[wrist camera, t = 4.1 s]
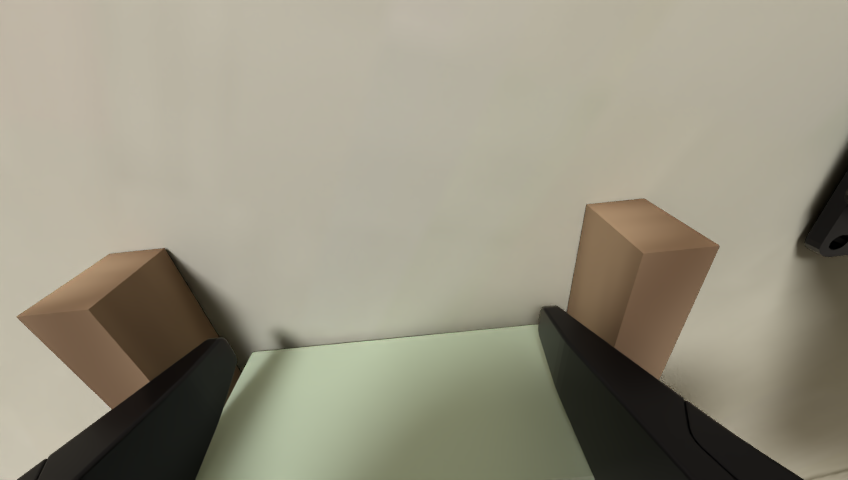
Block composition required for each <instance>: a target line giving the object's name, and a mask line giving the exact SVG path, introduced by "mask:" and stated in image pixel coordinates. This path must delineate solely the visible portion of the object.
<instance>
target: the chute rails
mask: <svg viewBox="0 0 848 480" xmlns="http://www.w3.org/2000/svg"><path fill="white" fill-rule="evenodd" d="M719 247H720V246H719V245H718V244H716V243H714V242H713V241H711V240H710V239H708V238H706V237H705V236H703V235H702V234H700V233H698V232H697V231H695V230H694V229H692V228H690V227H689V226H687V225H686V224H684V223H683V222H681V221H679V220H678V219H676V218H675V217H673V216H671V215H670V214H668V213H667V212H665V211H663V210H662V209H660V208H659V207H657V206H655V205H654V204H652V203H651V202H649V201H647V200H646V199H635V200H625V201H616V202H606V203H596V204H587V205H586V211H585V216H584V222H583V227H582V233H581V238H580V243H579V249H578V254H577V260H576V265H575V271H574V276H573V281H572V287H571V292H570V298H569V303H568V309H567V313H568V314H569V315H571V316H572V317H573V318H575V319H576V320H577V321H579V322H580V323H581V324H583V325H584V326H586V327H587V328H588V329H590V330H591V331H592V332H594V333H595V334H597V335H598V336H599V337H601V338H602V339H603V340H605V341H606V342H608V343H609V344H610V345H612V346H613V347H614V348H616V349H617V350H618V351H620V352H621V353H623V354H624V355H625V356H627V357H628V358H629V359H631V360H632V361H634V362H635V363H636V364H638V365H639V366H640V367H642V368H643V369H644V370H646V371H647V372H649V373H650V374H651V375H653V376H654V377H655V378H657V379H658V380H659V379H660V377H661V374H662V372H663V370H664V368H665V366H666V363H667V361H668V359H669V357H670V355H671V352H672V350H673V348H674V346H675V344H676V341H677V339H678V337H679V335H680V333H681V330H682V328H683V326H684V324H685V322H686V319H687V317H688V315H689V313H690V311H691V308H692V306H693V304H694V302H695V300H696V297H697V295H698V293H699V291H700V288H701V286H702V284H703V282H704V280H705V277H706V275H707V273H708V271H709V269H710V266H711V264H712V262H713V260H714V258H715V255H716V253H717V251H718V249H719ZM17 318H18V319H19V320H20V321H21V322H22V323H23V324H24V325H25V326H26V327H27V328H28V329H29V330H30V331H31V332H32V333H33V334H35V335H36V336H37V337H38V338H39V339H40V340H41V341H42V342H43V343H44V344H45V345H46V346H47V347H48V348H49V349H50V350H51V351H52V352H53V353H54V354H55V355H56V356H57V357H58V358H59V359H60V360H61V361H63V362H64V363H65V364H66V365H67V366H68V367H69V368H70V369H71V370H72V371H73V372H74V373H75V374H76V375H77V376H78V377H79V378H80V379H81V380H82V381H83V382H84V383H85V384H86V385H87V386H88V387H89V388H90V389H92V390H93V391H94V392H95V393H96V394H97V395H98V396H99V397H100V398H101V399H102V400H103V401H104V402H105V403H106V404H107V405H108V406H109V407H110V408H111V409H113V408H115V407H116V406H117V405H119V404H120V403H121V402H123V401H124V400H125V399H127V398H128V397H130V396H131V395H132V394H134V393H135V392H136V391H138V390H139V389H140V388H142V387H143V386H144V385H146V384H147V383H148V382H150V381H151V380H153V379H154V378H155V377H157V376H158V375H159V374H161V373H162V372H163V371H165V370H166V369H167V368H169V367H170V366H171V365H173V364H174V363H176V362H177V361H178V360H180V359H181V358H182V357H184V356H185V355H186V354H188V353H189V352H190V351H192V350H193V349H194V348H196V347H197V346H199V345H200V344H201V343H203V342H204V341H205V340H207V339H210V338H219V336H218V335H217V333H216V331H215V330H214V328H213V326H212V325H211V323H210V322H209V320H208V318H207V317H206V315H205V313H204V312H203V310H202V309H201V307H200V305H199V304H198V302H197V300H196V299H195V297H194V295H193V294H192V292H191V291H190V289H189V287H188V286H187V284H186V282H185V281H184V279H183V278H182V276H181V274H180V273H179V271H178V269H177V268H176V266H175V264H174V263H173V261H172V260H171V258H170V256H169V255H168V253H167V251H166V250H165V248H162V249H152V250H143V251H133V252H123V253H114V254H109V255H107V256H106V257H104V258H103V259H101V260H100V261H98V262H97V263H95V264H94V265H92V266H91V267H89V268H88V269H86V270H85V271H83V272H82V273H81V274H79V275H78V276H76V277H75V278H73V279H72V280H70V281H69V282H67V283H66V284H64V285H63V286H61V287H60V288H58V289H57V290H55V291H54V292H52V293H51V294H49V295H48V296H46V297H45V298H43V299H42V300H41V301H39V302H38V303H36V304H35V305H33V306H32V307H30V308H29V309H27V310H26V311H24V312H23V313H21V314H20V315H18V316H17ZM240 375H241V372H240V370H239V369H238V367H237V366H236V368H235V371H234V375H233V378H232V381H231V385H230V388H229V391H228V395H227V398H226V401H225V404H226V402H227V400H228V398H229V397H230V395H231V393H232V391H233V389H234V387H235V385H236V383H237V381H238V379H239V377H240ZM224 406H225V405H224Z"/></svg>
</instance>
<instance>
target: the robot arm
mask: <svg viewBox="0 0 848 480" xmlns="http://www.w3.org/2000/svg"><path fill="white" fill-rule="evenodd" d="M805 247H807V248H808V249H810V250H812V251H814V252H816V253H818V254H820V255H822V256H825V257H832V256H842V255H848V170H847V172H846V173H845V175H844V177H843V178H842V180H841V182H840V183H839V185H838V187H837V188H836V190H835V191H834V193H833V195H832V196H831V198H830V200H829V201H828V203H827V205H826V206H825V208H824V210H823V211H822V213H821V214H820V216H819V218H818V219H817V221H816V223H815V224H814V226H813V228H812V229H811V231H810V232H809V234H808V236H807V237H806V240H805ZM538 333H539V337H540V340H541V344H542V347H543V350H544V353H545V357H546V360H547V363H548V366H549V369H550V373H551V376H552V379H553V382H554V385H555V388H556V391H557V393H558V396H559V398H560V400H561V403H562V405H563V407H564V409H565V412H566V414H567V416H568V419H569V421H570V423H571V426H572V428H573V430H574V433H575V435H576V437H577V439H578V442H579V444H580V446H581V449H582V451H583V453H584V456H585V458H586V460H587V463H588V465H589V467H590V469H591V472H592V474H593V476H594V479H595V480H804V479H802V478H801V477H799V476H798V475H796V474H794V473H793V472H791V471H790V470H788V469H787V468H785V467H784V466H782V465H780V464H779V463H777V462H776V461H774V460H773V459H771V458H769V457H768V456H766V455H765V454H763V453H762V452H760V451H759V450H757V449H756V448H754V447H753V446H751V445H750V444H748V443H747V442H745V441H744V440H742V439H741V438H739V437H738V436H736V435H735V434H733V433H732V432H730V431H729V430H728V429H726V428H725V427H723V426H722V425H721V424H719V423H718V422H716V421H715V420H713V419H712V418H711V417H709V416H708V415H706V414H705V413H704V412H702V411H701V410H699V409H698V408H697V407H695V406H694V405H693V404H691V403H690V402H688V401H684V398H683V397H681V396H680V395H679V394H677V393H676V392H675V391H673V390H672V389H671V388H669V387H668V386H666V385H665V384H664V383H662V382H661V381H660V380H658V379H657V378H655V377H654V376H653V375H651V374H650V373H649V372H647V371H646V370H644V369H643V368H642V367H640V366H639V365H638V364H636V363H635V362H634V361H632V360H631V359H629V358H628V357H627V356H625V355H624V354H623V353H621V352H620V351H618V350H617V349H616V348H614V347H613V346H612V345H610V344H609V343H608V342H606V341H605V340H603V339H602V338H601V337H599V336H598V335H597V334H595V333H594V332H592V331H591V330H590V329H588V328H587V327H586V326H584V325H583V324H581V323H580V322H579V321H577V320H576V319H575V318H573V317H572V316H571V315H569V314H568V313H566V312H565V311H564V310H562V309H561V308H560V307H558V306H544V307H542V308H541V310H540V317H539V324H538ZM236 364H237V358H236V355H235V353H234V351H233V350H232V348H231V346H230V345H229V343H228V341H227V340H226V339H225V338H223V337H219V338H210V339H207V340H205V341H204V342H203V343H201V344H200V345H199V346H197V347H196V348H194V349H193V350H192V351H190V352H189V353H188V354H186V355H185V356H184V357H182V358H181V359H180V360H178V361H177V362H176V363H174V364H173V365H171V366H170V367H169V368H167V369H166V370H165V371H163V372H162V373H161V374H159V375H158V376H157V377H155V378H154V379H153V380H151V381H150V382H148V383H147V384H146V385H144V386H143V387H142V388H140V389H139V390H138V391H136V392H135V393H134V394H132V395H131V396H130V397H128V398H127V399H125V400H124V401H123V402H121V403H120V404H119V405H117V406H116V407H115V408H113V409H112V410H111V411H109V412H108V413H107V414H105V415H104V416H102V417H101V418H100V419H98V420H97V421H96V422H94V423H93V424H92V425H90V426H89V427H88V428H86V429H85V430H84V431H82V432H81V433H79V434H78V435H77V436H75V437H74V438H73V439H71V440H70V441H69V442H67V443H66V444H65V445H63V446H62V447H61V448H59V449H58V450H56V451H55V452H54V453H52V454H51V455H50V456H49V457H48V459H44V460H43V461H41V462H40V463H39V464H37V465H36V466H35V467H33V468H32V469H31V470H29V471H28V472H27V473H25V474H24V475H23V476H21V477H20V478H19V479H17V480H196V477H197V475H198V472H199V470H200V467H201V465H202V462H203V460H204V457H205V455H206V453H207V450H208V448H209V445H210V443H211V440H212V438H213V435H214V433H215V430H216V428H217V425H218V423H219V420H220V417H221V414H222V411H223V408H224V405H225V401H226V398H227V395H228V391H229V388H230V385H231V381H232V378H233V375H234V371H235V368H236Z"/></svg>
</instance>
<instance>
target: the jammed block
mask: <svg viewBox="0 0 848 480" xmlns="http://www.w3.org/2000/svg"><path fill="white" fill-rule="evenodd" d="M196 480H595V479H594V476H593V474H592V472H591V469H590V467H589V465H588V463H587V460H586V458H585V456H584V453H583V451H582V449H581V446H580V444H579V442H578V439H577V437H576V435H575V433H574V430H573V428H572V426H571V423H570V421H569V419H568V416H567V414H566V412H565V409H564V407H563V405H562V403H561V400H560V398H559V396H558V393H557V391H556V388H555V385H554V382H553V379H552V376H551V373H550V369H549V366H548V363H547V360H546V357H545V353H544V350H543V347H542V344H541V340H540V337H539V333H538V324H536V325H526V326H516V327H505V328H495V329H485V330H475V331H465V332H454V333H444V334H434V335H424V336H414V337H403V338H393V339H383V340H373V341H362V342H352V343H342V344H332V345H322V346H311V347H301V348H291V349H281V350H271V351H260V352H252V354H251V356H250V358H249V360H248V362H247V364H246V366H245V368H244V370H243V372H242V374H241V375H240V377H239V379H238V381H237V383H236V385H235V387H234V389H233V391H232V393H231V395H230V397H229V398H228V400H227V402H226V404H225V406H224V408H223V411H222V414H221V417H220V420H219V423H218V425H217V428H216V430H215V433H214V435H213V438H212V440H211V443H210V445H209V448H208V450H207V453H206V455H205V457H204V460H203V462H202V465H201V467H200V470H199V472H198V475H197V477H196Z"/></svg>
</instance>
